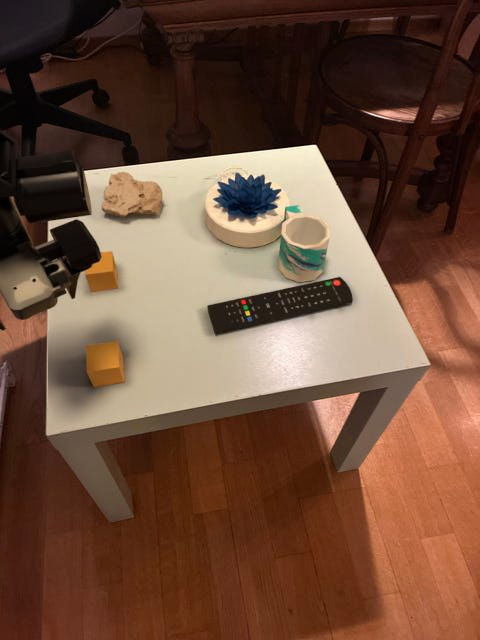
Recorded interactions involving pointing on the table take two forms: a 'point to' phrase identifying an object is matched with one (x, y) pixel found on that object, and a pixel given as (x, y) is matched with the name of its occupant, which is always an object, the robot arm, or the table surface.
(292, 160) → the table surface
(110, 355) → the ochre block near
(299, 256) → the mug
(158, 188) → the stone
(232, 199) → the box with blue lotus
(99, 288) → the ochre block middle
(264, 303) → the remote control
